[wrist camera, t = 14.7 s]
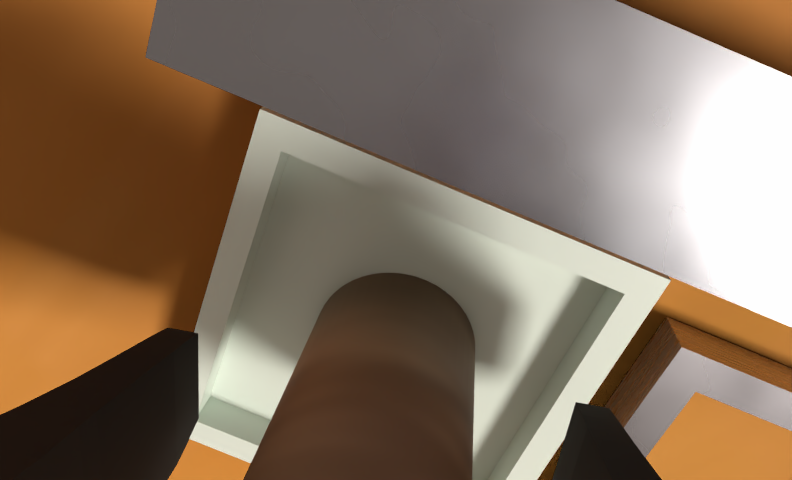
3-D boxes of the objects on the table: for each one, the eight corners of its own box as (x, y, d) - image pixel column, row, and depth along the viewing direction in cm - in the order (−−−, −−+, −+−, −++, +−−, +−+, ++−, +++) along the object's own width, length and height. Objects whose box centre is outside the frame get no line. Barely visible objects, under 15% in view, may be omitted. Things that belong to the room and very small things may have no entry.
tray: (652, 247, 13) (670, 280, 12) (485, 507, 17) (486, 556, 15) (283, 92, 13) (259, 109, 12) (192, 390, 16) (165, 429, 15)
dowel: (509, 339, 14) (525, 587, 8) (408, 435, 15) (366, 699, 10) (378, 240, 13) (305, 437, 8) (285, 349, 15) (168, 579, 9)
